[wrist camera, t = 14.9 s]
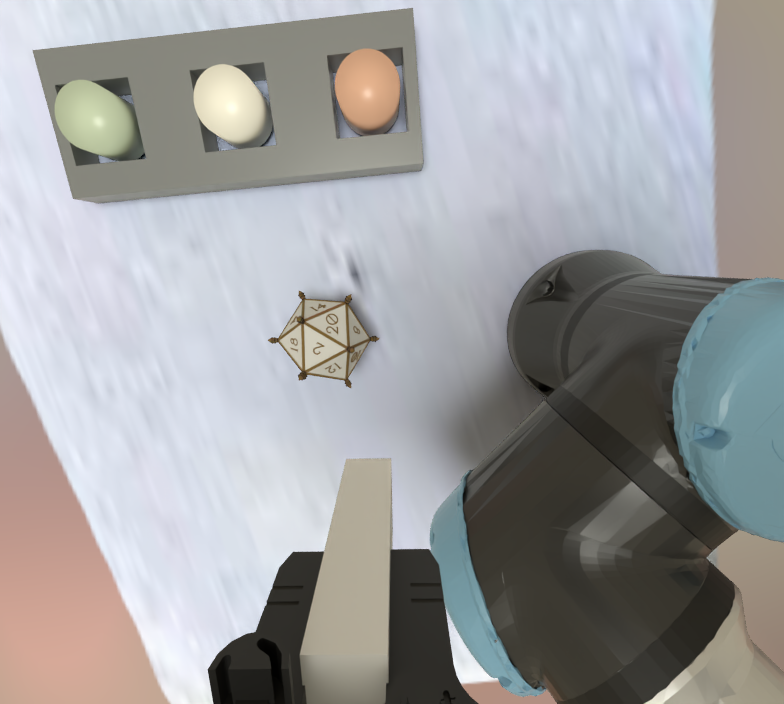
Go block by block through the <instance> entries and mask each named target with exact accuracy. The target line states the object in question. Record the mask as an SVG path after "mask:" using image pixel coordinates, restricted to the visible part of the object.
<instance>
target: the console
mask: <svg viewBox="0 0 784 704" xmlns="http://www.w3.org/2000/svg"><path fill="white" fill-rule="evenodd" d="M360 49H374V50H377V51H380V52H382V53H383V54H385V55H386V56H387V57H388V58H389V59H390V60H391V61H392V62H393V64H394V65H395V66H399V65H402V74H403V87H404V100H405V114H406V127H407V132H400V133H390V134H380V135H371V136H361V137H351V138H342V139H340V135H339V126H338V117H337V108H336V99H335V90H334V82H333V73H334V72H337V70H338V68H339V66H340V64H341V63H342V61H343V60H344V59H345V58H346V57H347V56H348V55H349V54H351V53H352V52H354V51H357V50H360ZM33 54H34V57H35V61H36V65H37V68H38V72H39V76H40V79H41V83H42V87H43V90H44V94H45V98H46V101H47V105H48V109H49V112H50V116H51V120H52V123H53V127H54V131H55V134H56V138H57V142H58V145H59V149H60V153H61V156H62V160H63V164H64V167H65V171H66V175H67V178H68V182H69V186H70V189H71V193H72V197H73V199H77V200H83V201H89V202H94V203H107V202H117V201H127V200H137V199H147V198H157V197H166V196H176V195H186V194H196V193H206V192H216V191H226V190H236V189H246V188H256V187H266V186H276V185H285V184H295V183H305V182H315V181H325V180H335V179H345V178H355V177H365V176H375V175H385V174H395V173H404V172H414V171H421V169H422V166H423V151H422V136H421V122H420V107H419V92H418V77H417V62H416V47H415V32H414V17H413V8H408V9H399V10H390V11H381V12H372V13H363V14H354V15H345V16H336V17H328V18H319V19H310V20H301V21H292V22H283V23H274V24H265V25H256V26H247V27H238V28H229V29H220V30H211V31H202V32H193V33H184V34H175V35H166V36H157V37H148V38H139V39H130V40H121V41H112V42H103V43H94V44H85V45H77V46H68V47H59V48H50V49H41V50H33ZM219 64H226V65H231V66H234V67H236V68H238V69H240V70H241V71H243V72H244V73H245V74H246V75H247V76H248V77H249V78H250V80H251V81H260V80H267V86H268V92H269V99H270V106H271V112H272V119H273V126H274V132H275V139H276V145H274V146H264V147H255V148H245V149H235V150H226V151H219V149H218V144H217V138H216V134H214V133H213V132H212V131H210V130H209V129H208V128H207V127H206V126H205V125H204V124H203V123H202V122H201V120H200V119H199V117H198V115H197V112H196V110H195V106H194V89H195V85H196V82H197V80H198V78H199V77H200V75H201V74H202V73H203V72H204V71H205V70H207V69H208V68H210V67H212V66H215V65H219ZM75 80H88V81H91V82H94V83H96V84H98V85H99V86H101V87H103V88H105V89H106V90H108V91H110V92H112V93H113V94H115V95H117V96H121V95H130V94H132V98H133V102H134V107H135V111H136V116H137V120H138V125H139V129H140V133H141V138H142V142H143V147H144V151H145V156H146V159H139V160H129V161H119V162H110V163H99V159H98V155H97V154H95V153H92V152H89V151H86V150H83V149H80V148H78V147H76V146H75V145H73V144H72V143H71V142H70V141H68V140H67V138H66V137H65V136H64V135H63V133H62V132H61V130H60V129H59V126H58V124H57V121H56V117H55V101H56V97H57V95H58V93H59V91H60V90H61V89H62V87H63V86H65V85H66V84H67V83H69V82H72V81H75Z"/></svg>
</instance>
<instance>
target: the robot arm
mask: <svg viewBox="0 0 784 704" xmlns="http://www.w3.org/2000/svg"><path fill="white" fill-rule="evenodd" d="M507 339H508V347H509V352H510V355H511V358H512V360H513V363H514V365H515V367H516V368H517V370H518V372H519V373H520V374H521V376H522V377H523V378H524V379H525V380H526V381H527V382H528V383H529V384H530V385H531V386H532V387H533V388H534V389H536V390H537V391H538V392H539V393H541V394H542V395H544V396H545V397H547V399H545V400H544V401H543V402H542V403H541V404H540V405H539V406H538V407H537V408H536V409H535V410H534V411H533V412H532V413H531V414H530V415H529V416H528V417H527V418H526V419H525V420H524V421H523V422H522V423H521V424H520V425H519V426H518V427H517V428H516V429H515V430H514V431H513V432H512V433H511V434H510V435H509V436H508V437H507V438H506V439H505V440H504V441H503V442H502V443H501V444H500V445H499V446H498V447H497V448H496V449H495V450H494V451H493V452H492V453H491V454H490V455H488V456H487V457H486V458H485V459H484V460H483V461H482V462H481V463H480V464H479V465H478V466H477V467H476V468H475V469H474V470H469V471H468V472H467V473H466V474H465V475H464V476H463V478H462V479H461V482H460V485H459V486H458V487H457V488H456V489H455V490H454V491H453V492H452V494H451V495H450V496H449V497H448V498H447V499H446V500H445V501H444V502H443V503H442V504H441V506H440V507H439V508H438V510H437V511H436V513H435V515H434V518H433V520H432V524H431V528H430V545H431V551H430V550H429V549H398V550H392V536H393V527H392V478H391V458H387V459H346V462H345V466H344V471H343V475H342V479H341V483H340V487H339V492H338V496H337V500H336V504H335V508H334V513H333V517H332V521H331V525H330V529H329V534H328V538H327V542H326V546H325V550H324V552H293V553H292V554H291V555H290V556H289V557H288V558H287V560H286V561H285V562H284V563H283V564H282V565H281V566H280V567H279V570H278V573H277V575H276V578H275V581H274V584H273V588H272V590H271V592H270V594H269V597H268V600H267V605H266V606H265V608H264V611H263V613H262V616H261V619H260V621H259V624H258V627H257V630H256V632H254V633H249V634H245V635H243V636H241V637H240V638H238V639H236V640H234V641H232V642H230V643H229V644H228V645H227V646H226V647H225V648H224V649H223V650H222V651H221V652H219V653H218V654H217V656H216V657H215V659H214V661H213V662H212V664H211V665H210V667H209V668H208V674H209V680H210V686H211V692H212V697H213V703H214V704H478V703H477V702H476V701H475V700H473V699H472V698H471V697H470V696H469V695H468V693H467V692H466V691H465V690H464V688H463V687H462V685H461V684H460V682H459V680H458V678H457V676H456V672H455V668H454V665H453V658H452V651H451V644H450V637H449V630H448V623H447V616H446V609H447V611H448V613H449V616H450V618H451V620H452V622H453V624H454V626H455V628H456V630H457V631H458V633H459V635H460V637H461V638H462V640H463V642H464V643H465V645H466V646H467V648H468V649H469V651H470V652H471V654H472V655H473V657H474V658H475V659H476V661H477V662H478V663H479V664H480V666H481V667H482V668H483V669H484V670H485V671H486V673H487V674H488V675H489V676H491V677H493V678H498V680H499V682H500V684H501V686H502V687H503V688H505V689H506V690H508V691H509V692H511V693H513V694H515V695H518V696H523V697H524V696H528V695H533V696H537V695H540V694H542V693H543V692H544V691H545V690H546V689H547V690H548V692H549V693H550V694H551V696H553V698H554V699H555V701H556V702H557V704H784V672H783V671H782V670H781V669H780V668H779V667H778V666H777V665H776V664H775V663H774V662H773V661H772V660H771V659H769V657H767V656H766V655H765V654H764V653H763V652H762V651H761V650H760V649H759V648H758V647H757V646H756V645H755V644H754V643H753V642H752V640H751V639H750V637H749V635H748V632H747V629H746V622H745V615H744V609H743V602H742V596H741V592H740V590H739V588H738V587H737V586H736V585H735V584H734V583H733V582H732V581H730V580H729V579H728V578H727V577H726V576H725V575H724V574H723V573H721V572H720V571H719V570H718V569H717V568H716V567H715V566H714V565H713V564H712V563H711V562H710V561H708V559H707V558H706V557H707V556H708V555H709V554H710V553H711V552H712V550H714V549H715V548H716V547H718V546H719V545H720V544H721V543H722V542H724V541H725V540H726V539H728V538H729V537H730V536H731V535H733V534H734V533H735V532H737V531H738V530H742V531H745V532H748V533H750V534H752V535H757V536H760V537H763V538H766V539H769V540H773V541H779V542H784V280H781V279H778V278H761V279H759V278H755V279H738V278H720V277H701V276H683V275H667V274H661V273H660V272H658V271H657V270H655V269H654V268H652V267H651V266H650V265H648V264H647V263H645V262H644V261H642V260H640V259H639V258H636V257H634V256H632V255H629V254H626V253H622V252H617V251H610V250H588V251H579V252H574V253H571V254H567V255H565V256H562V257H560V258H557V259H555V260H553V261H552V262H550V263H548V264H547V265H545V266H544V267H542V268H541V269H540V270H539V271H537V272H536V273H535V274H534V275H533V276H532V277H531V278H530V279H529V280H528V281H527V283H526V284H525V285H524V286H523V288H522V289H521V291H520V292H519V294H518V296H517V298H516V300H515V302H514V304H513V306H512V309H511V312H510V316H509V321H508V329H507ZM445 607H446V609H445Z"/></svg>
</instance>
